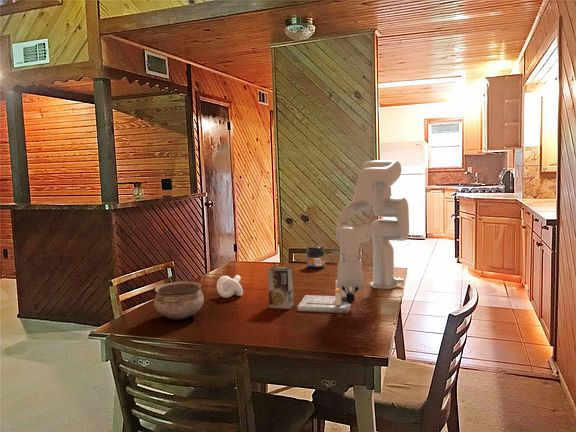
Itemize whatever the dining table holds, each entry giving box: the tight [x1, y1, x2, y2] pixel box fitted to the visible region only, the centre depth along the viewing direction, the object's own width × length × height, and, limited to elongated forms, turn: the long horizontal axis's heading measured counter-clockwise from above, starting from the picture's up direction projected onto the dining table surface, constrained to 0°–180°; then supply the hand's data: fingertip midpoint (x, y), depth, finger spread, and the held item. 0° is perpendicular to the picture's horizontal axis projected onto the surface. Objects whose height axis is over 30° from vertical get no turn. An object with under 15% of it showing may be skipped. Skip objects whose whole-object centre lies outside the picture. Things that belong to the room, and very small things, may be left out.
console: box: [297, 294, 352, 314], centre depth 197 cm, size 20×16×2 cm
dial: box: [335, 279, 352, 300], centre depth 199 cm, size 6×6×7 cm
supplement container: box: [305, 244, 326, 270], centre depth 269 cm, size 10×10×12 cm
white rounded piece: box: [216, 274, 244, 299], centre depth 215 cm, size 11×12×9 cm
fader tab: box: [334, 287, 342, 305], centre depth 191 cm, size 2×4×6 cm, turn 167°
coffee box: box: [267, 266, 295, 310], centre depth 197 cm, size 9×6×16 cm
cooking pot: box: [153, 281, 205, 321], centre depth 187 cm, size 25×19×12 cm
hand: (350, 303), depth 190 cm, fingers closed
